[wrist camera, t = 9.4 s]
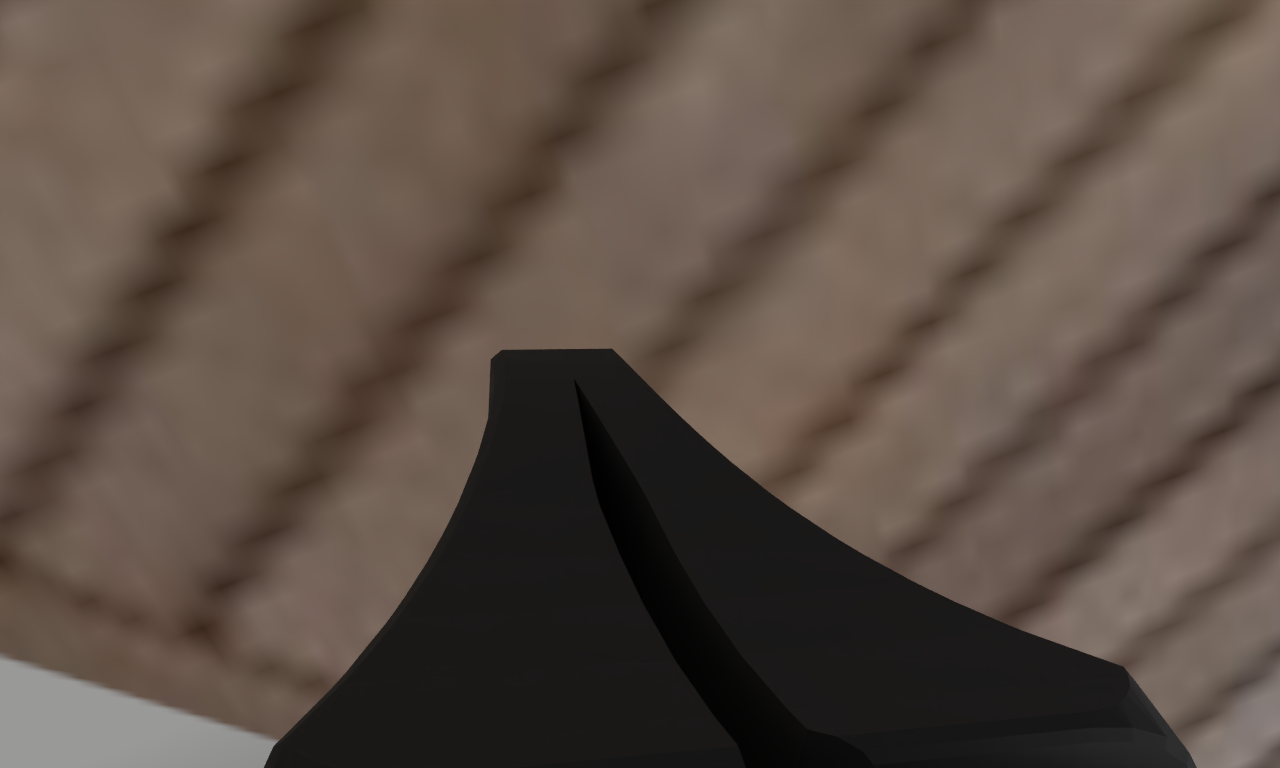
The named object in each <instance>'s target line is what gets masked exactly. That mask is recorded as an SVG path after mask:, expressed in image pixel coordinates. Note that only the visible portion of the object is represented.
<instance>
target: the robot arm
mask: <svg viewBox="0 0 1280 768" xmlns="http://www.w3.org/2000/svg"><path fill="white" fill-rule="evenodd" d="M264 768H1196V766H1195V763H1194V761H1193V759H1192V757H1191V755H1190V753H1189V752H1188V750H1187V749H1186V748H1185V746H1184V745H1183V744H1182V743H1181V741H1180V740H1179V739H1178V737H1177V736H1176V735H1175V733H1174V732H1173V731H1172V729H1171V728H1170V727H1169V725H1168V724H1167V723H1166V721H1165V720H1164V719H1163V717H1162V716H1161V715H1160V713H1159V712H1158V711H1157V709H1156V708H1155V707H1154V705H1153V704H1152V703H1151V701H1150V700H1149V699H1148V697H1147V696H1146V695H1145V693H1144V692H1143V691H1142V689H1141V688H1140V687H1139V685H1138V684H1137V683H1136V681H1135V680H1134V679H1133V678H1132V677H1131V675H1130V674H1129V673H1128V672H1127V671H1126V669H1125V668H1124V667H1122V666H1120V665H1117V664H1114V663H1111V662H1108V661H1106V660H1103V659H1100V658H1097V657H1094V656H1092V655H1089V654H1086V653H1083V652H1080V651H1078V650H1075V649H1072V648H1069V647H1066V646H1064V645H1061V644H1058V643H1055V642H1052V641H1049V640H1047V639H1044V638H1041V637H1038V636H1035V635H1033V634H1030V633H1027V632H1024V631H1022V630H1019V629H1017V628H1014V627H1012V626H1009V625H1007V624H1004V623H1002V622H1000V621H998V620H995V619H993V618H991V617H988V616H986V615H984V614H982V613H979V612H977V611H975V610H972V609H970V608H968V607H965V606H963V605H961V604H959V603H956V602H954V601H952V600H950V599H948V598H946V597H944V596H942V595H939V594H937V593H935V592H933V591H931V590H929V589H927V588H925V587H923V586H921V585H919V584H917V583H915V582H913V581H911V580H909V579H907V578H906V577H904V576H902V575H900V574H898V573H896V572H894V571H893V570H891V569H889V568H887V567H885V566H883V565H882V564H880V563H878V562H876V561H874V560H872V559H871V558H869V557H867V556H865V555H863V554H862V553H860V552H858V551H857V550H855V549H853V548H852V547H850V546H848V545H846V544H845V543H843V542H841V541H840V540H838V539H837V538H835V537H833V536H832V535H830V534H829V533H827V532H826V531H824V530H823V529H821V528H820V527H818V526H817V525H815V524H814V523H812V522H811V521H809V520H808V519H806V518H805V517H803V516H802V515H800V514H799V513H797V512H796V511H794V510H793V509H791V508H790V507H788V506H787V505H786V504H784V503H783V502H782V501H780V500H779V499H777V498H776V497H775V496H773V495H772V494H771V493H769V492H768V491H767V490H765V489H764V488H763V487H762V486H760V485H759V484H758V483H757V482H755V481H754V480H753V479H752V478H750V477H749V476H748V475H747V474H745V473H744V472H743V471H742V470H740V469H739V468H738V467H737V466H735V465H734V464H733V463H732V462H730V461H729V460H728V459H727V458H726V457H725V456H723V455H722V454H721V453H720V452H719V451H718V450H717V449H715V448H714V447H713V446H712V445H711V444H710V443H709V442H707V441H706V440H705V439H704V438H703V437H702V436H701V435H700V434H699V433H697V432H696V431H695V430H694V429H693V428H692V427H691V426H690V425H689V424H688V423H687V422H686V421H685V420H683V419H682V418H681V417H680V416H679V415H678V414H677V413H676V412H675V411H674V410H673V409H672V408H671V407H670V406H669V405H668V404H667V403H666V402H665V401H664V400H663V399H662V398H661V397H660V396H659V395H658V394H657V393H656V392H655V391H654V390H653V389H652V388H651V387H650V386H649V385H648V384H647V383H646V382H645V381H644V380H643V379H642V378H641V377H640V376H639V375H638V374H637V373H636V372H635V371H634V370H633V369H632V368H631V367H630V366H629V365H628V364H627V363H626V362H625V361H624V360H623V359H622V358H621V357H620V356H619V355H618V354H617V353H616V352H615V351H614V350H613V349H544V350H501V351H500V352H499V353H498V354H497V355H495V356H494V357H493V358H492V359H491V368H490V392H489V415H488V421H487V425H486V428H485V431H484V435H483V438H482V442H481V445H480V449H479V452H478V455H477V458H476V461H475V463H474V466H473V468H472V471H471V473H470V476H469V478H468V480H467V483H466V485H465V488H464V490H463V493H462V495H461V498H460V500H459V502H458V505H457V507H456V509H455V511H454V513H453V515H452V517H451V519H450V521H449V523H448V525H447V527H446V529H445V531H444V533H443V535H442V537H441V538H440V540H439V542H438V544H437V546H436V548H435V549H434V551H433V553H432V555H431V556H430V558H429V560H428V562H427V563H426V565H425V566H424V568H423V569H422V571H421V573H420V574H419V576H418V577H417V579H416V580H415V582H414V584H413V585H412V587H411V588H410V590H409V591H408V593H407V595H406V596H405V598H404V599H403V600H402V602H401V603H400V605H399V606H398V608H397V609H396V610H395V612H394V613H393V615H392V616H391V617H390V619H389V620H388V621H387V623H386V624H385V625H384V626H383V628H382V629H381V630H380V631H379V633H378V634H377V635H376V636H375V638H374V639H373V640H372V641H371V642H370V644H369V645H368V646H367V647H366V649H365V650H364V651H363V652H362V654H361V655H360V656H359V657H358V658H357V660H356V661H355V662H354V663H353V665H352V666H351V667H350V668H349V670H348V671H347V672H346V673H345V674H344V675H343V676H342V678H341V679H340V680H339V681H338V682H337V683H336V684H335V685H334V686H333V688H332V689H331V690H330V691H329V692H328V693H327V694H326V695H325V696H324V697H323V698H322V699H321V700H320V701H319V702H318V703H317V704H316V705H315V706H314V707H313V708H312V709H311V710H310V711H309V712H308V713H307V714H306V715H305V716H304V717H303V718H302V719H301V720H300V721H299V722H298V723H297V724H296V725H295V726H294V727H293V728H292V729H291V730H290V731H289V732H288V733H287V734H286V735H285V736H284V737H283V738H282V739H281V740H280V741H278V742H277V743H276V744H275V745H274V747H273V749H272V751H271V753H270V755H269V758H268V760H267V762H266V764H265V766H264Z"/></svg>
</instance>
